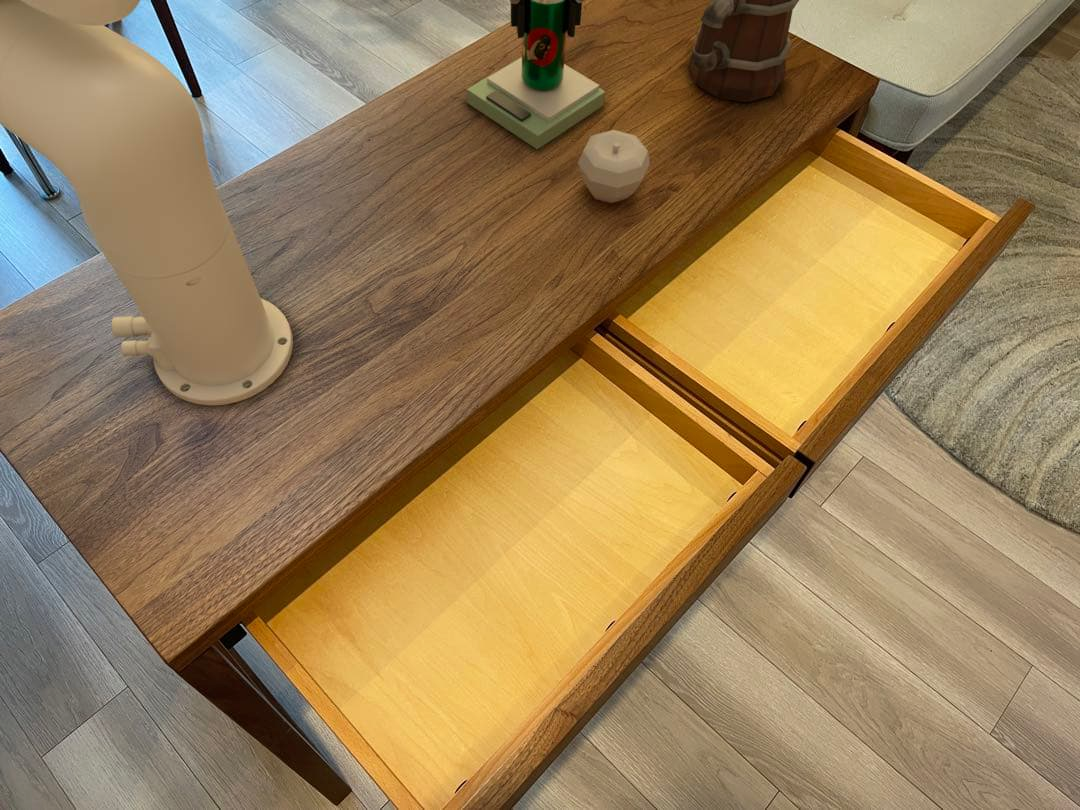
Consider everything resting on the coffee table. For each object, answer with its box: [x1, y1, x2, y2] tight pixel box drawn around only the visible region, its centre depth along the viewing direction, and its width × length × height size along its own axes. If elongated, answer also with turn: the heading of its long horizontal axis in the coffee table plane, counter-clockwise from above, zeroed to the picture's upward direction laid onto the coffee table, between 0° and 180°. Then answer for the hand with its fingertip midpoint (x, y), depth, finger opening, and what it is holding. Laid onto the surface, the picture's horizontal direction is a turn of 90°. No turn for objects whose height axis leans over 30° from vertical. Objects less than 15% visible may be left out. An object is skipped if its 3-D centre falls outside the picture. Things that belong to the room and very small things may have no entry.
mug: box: [688, 0, 800, 103], centre depth 94 cm, size 16×12×15 cm
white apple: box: [577, 129, 651, 204], centre depth 86 cm, size 8×8×7 cm
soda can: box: [521, 0, 569, 91], centre depth 90 cm, size 5×5×12 cm
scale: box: [466, 56, 606, 150], centre depth 96 cm, size 12×12×3 cm
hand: (545, 29), depth 89 cm, fingers closed on soda can, 5 cm apart
